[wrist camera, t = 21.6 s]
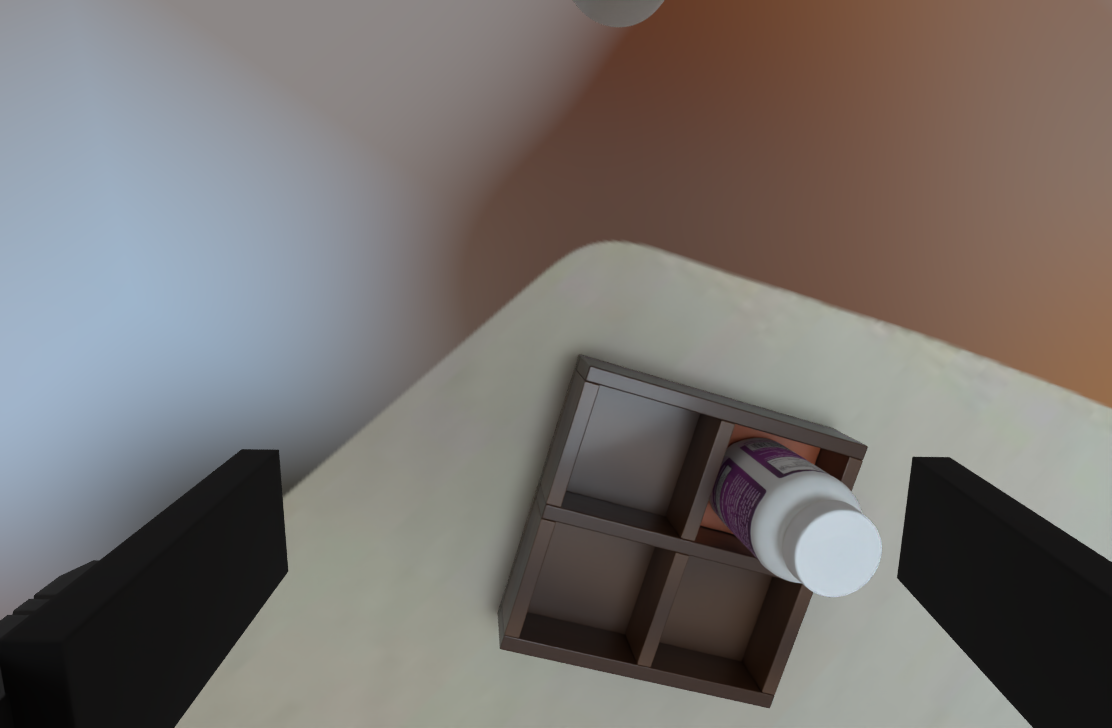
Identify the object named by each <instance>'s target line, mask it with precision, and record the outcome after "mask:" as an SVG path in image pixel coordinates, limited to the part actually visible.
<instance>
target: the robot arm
mask: <svg viewBox="0 0 1112 728" xmlns="http://www.w3.org/2000/svg"><path fill="white" fill-rule="evenodd" d="M287 572H288V562H287V549H286V536H285V523H284V510H283V497H282V485H281V473H280V460H279V450H251V449H248V450H247V449H242V450H240V451H239V452H238V453H237V454H235V455H234V456H233V457H231V458H230V459H229V460H228V461H226V462H225V463H224V464H223V465H221V466H220V467H219V468H217V469H216V470H215V471H213V472H212V473H211V474H210V475H208V476H207V477H206V478H205V479H203V480H202V481H201V482H199V483H198V484H197V485H196V486H195V487H193V488H192V489H190V490H189V491H188V492H187V493H185V494H184V495H183V496H182V497H180V498H179V499H178V500H176V501H175V502H174V503H173V504H171V505H170V506H169V507H168V508H166V509H165V510H164V511H162V512H161V513H160V514H159V515H157V516H156V517H155V518H154V519H152V520H151V521H150V522H148V523H147V524H146V525H144V526H143V527H142V528H141V529H139V530H138V531H137V532H135V533H134V534H133V535H132V536H130V537H129V538H128V539H126V540H125V541H124V542H123V543H121V544H120V545H119V546H118V547H116V548H115V549H114V550H112V551H111V552H110V553H109V554H107V555H106V556H105V557H103V558H102V559H101V560H100V561H95V560H94V561H91V562H89V563H87V564H85V565H83V566H80V567H78V568H76V569H74V570H72V571H70V572H68V573H66V574H63V575H61V576H59V577H58V578H56V579H55V580H54V581H52V582H51V583H50V584H48V585H47V586H46V587H44V588H43V589H42V590H40V591H39V592H38V593H36V594H35V595H34V599H28V600H27V601H26V602H24V603H23V604H22V605H20V606H19V607H18V608H16V609H15V610H14V611H13V614H12V615H7V616H6V617H4V618H3V619H2V620H0V728H174V727H175V726H176V724H177V723H178V722H179V720H180V719H181V718H182V716H183V715H184V713H185V712H186V711H187V709H188V708H189V707H190V705H191V704H192V703H193V701H194V700H195V698H196V697H197V696H198V694H199V693H200V692H201V690H202V689H203V687H204V686H205V685H206V683H207V682H208V681H209V679H210V678H211V676H212V675H213V674H214V672H215V671H216V670H217V668H218V667H219V666H220V664H221V663H222V661H223V660H224V659H225V657H226V656H227V655H228V653H229V652H230V650H231V649H232V648H233V646H234V645H235V644H236V642H237V641H238V639H239V638H240V637H241V635H242V634H243V633H244V631H245V630H246V629H247V627H248V626H249V624H250V623H251V622H252V620H253V619H254V618H255V616H256V615H257V613H258V612H259V611H260V609H261V608H262V607H263V605H264V604H265V602H266V601H267V600H268V598H269V597H270V596H271V594H272V593H273V591H274V590H275V589H276V587H277V586H278V585H279V583H280V582H281V581H282V579H283V578H284V576H285V575H286V574H287ZM897 578H898V579H899V581H900V582H901V583H902V584H903V585H904V586H905V587H906V588H907V589H908V590H909V592H910V593H911V594H912V595H913V596H914V597H915V598H916V599H917V600H918V601H919V603H920V604H921V605H922V606H923V607H924V608H925V609H926V610H927V611H928V612H929V614H930V615H931V616H932V617H933V618H934V619H935V620H936V621H937V622H938V624H939V625H940V626H941V627H942V628H943V629H944V630H945V631H946V632H947V633H948V635H949V636H950V637H951V638H952V639H953V640H954V641H955V642H956V643H957V644H958V646H959V647H960V648H961V649H962V650H963V651H964V652H965V653H966V654H967V655H968V657H969V658H970V659H971V660H972V661H973V662H974V663H975V664H976V665H977V666H978V668H979V669H980V670H981V671H982V672H983V673H984V674H985V675H986V676H987V677H988V679H989V680H990V681H991V682H992V683H993V684H994V685H995V686H996V687H997V688H998V690H999V691H1000V692H1001V693H1002V694H1003V695H1004V696H1005V697H1006V698H1007V700H1008V701H1009V702H1010V703H1011V704H1012V705H1013V706H1014V707H1015V708H1016V709H1017V711H1018V712H1019V713H1020V714H1021V715H1022V716H1023V717H1024V718H1025V719H1026V720H1027V722H1028V723H1029V724H1030V725H1031V726H1032V727H1033V728H1112V562H1111V561H1109V560H1107V559H1106V558H1104V557H1103V556H1101V555H1100V554H1098V553H1097V552H1095V551H1094V550H1092V549H1090V548H1089V547H1087V546H1086V545H1084V544H1083V543H1081V542H1080V541H1078V540H1077V539H1075V538H1073V537H1072V536H1070V535H1069V534H1067V533H1066V532H1064V531H1063V530H1061V529H1060V528H1058V527H1056V526H1055V525H1053V524H1052V523H1050V522H1049V521H1047V520H1046V519H1044V518H1043V517H1041V516H1039V515H1038V514H1036V513H1035V512H1033V511H1032V510H1030V509H1029V508H1027V507H1026V506H1024V505H1022V504H1021V503H1019V502H1018V501H1016V500H1015V499H1013V498H1012V497H1010V496H1009V495H1007V494H1005V493H1004V492H1002V491H1001V490H999V489H998V488H996V487H995V486H993V485H992V484H990V483H988V482H987V481H985V480H984V479H982V478H981V477H979V476H978V475H976V474H975V473H973V472H971V471H970V470H968V469H967V468H965V467H964V466H962V465H961V464H959V463H958V462H956V461H954V460H953V459H951V458H950V457H913V458H912V466H911V474H910V481H909V489H908V497H907V505H906V513H905V520H904V528H903V536H902V544H901V552H900V559H899V567H898V575H897Z"/></svg>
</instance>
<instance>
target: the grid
mask: <svg viewBox="0 0 1112 728" xmlns="http://www.w3.org/2000/svg"><path fill="white" fill-rule="evenodd" d="M750 438H766V439H770V440H773V441H776V442H778V443H780V444H782V445H784V446H785V447H787V448H789V449H790V450H791V451H793V452H795V453H796V454H798V455H799V456H801V457H803V458H804V459H806V460H807V461H809V462H810V463H812V464H814V465H815V466H817V467H818V468H820V469H822V470H823V471H825V472H826V473H828V474H830V475H831V476H833V477H835V478H836V479H838V480H839V481H841V482H842V483H843V484H844V485H846V486H847V487H848V488H849V489H850V490H851V491H852V488H853V486H854V483H855V480H856V478H857V475H858V472H859V470H860V467H861V464H862V462H863V461H862V460H863V459H864V456H865V453H866V451H867V448H868V447H867V446H866V445H864V444H862V443H860V442H859V441H857V440H855V439H853V438H851V437H849V436H847V435H845V434H843V433H841V432H839V431H837V430H835V429H833V428H830V427H826V426H823V425H819V424H816V423H813V422H809V421H806V420H802V419H799V418H796V417H792V416H789V415H785V414H782V413H778V412H775V411H772V410H768V409H765V408H761V407H758V406H755V405H751V404H748V403H744V402H741V401H737V400H734V399H731V398H727V397H724V396H720V395H717V394H714V393H710V392H707V391H703V390H700V389H696V388H693V387H690V386H686V385H683V384H679V383H676V382H673V381H669V380H666V379H662V378H659V377H656V376H652V375H649V374H645V373H642V372H638V371H635V370H632V369H628V368H625V367H621V366H618V365H615V364H611V363H608V362H604V361H601V360H597V359H594V358H591V357H587V356H584V355H579V357H578V360H577V363H576V366H575V369H574V373H573V376H572V379H571V382H570V385H569V388H568V392H567V395H566V398H565V401H564V404H563V407H562V411H561V414H560V417H559V420H558V423H557V427H556V430H555V433H554V436H553V439H552V442H551V446H550V449H549V452H548V455H547V458H546V461H545V465H544V468H543V471H542V474H541V477H540V480H539V484H538V487H537V490H536V493H535V496H534V500H533V503H532V506H531V509H530V512H529V515H528V519H527V522H526V525H525V528H524V531H523V534H522V538H521V541H520V544H519V547H518V550H517V553H516V557H515V560H514V563H513V566H512V569H511V572H510V576H509V579H508V582H507V585H506V588H505V592H504V595H503V598H502V601H501V604H500V607H499V611H498V626H499V642H500V649H503V650H507V651H512V652H516V653H521V654H525V655H530V656H535V657H539V658H544V659H548V660H553V661H557V662H562V663H566V664H571V665H575V666H580V667H585V668H589V669H594V670H598V671H603V672H607V673H612V674H616V675H621V676H625V677H630V678H634V679H639V680H644V681H648V682H653V683H657V684H662V685H666V686H671V687H675V688H680V689H684V690H689V691H694V692H698V693H703V694H707V695H712V696H716V697H721V698H725V699H730V700H734V701H739V702H744V703H748V704H753V705H757V706H762V707H766V708H770V706H771V704H772V701H773V698H774V695H775V692H776V690H777V687H778V684H779V682H780V679H781V677H782V674H783V671H784V669H785V666H786V663H787V661H788V658H789V655H790V653H791V650H792V647H793V645H794V642H795V639H796V637H797V634H798V631H799V629H800V626H801V623H802V621H803V618H804V615H805V613H806V610H807V607H808V605H809V602H810V599H811V597H812V594H813V592H812V591H810V590H809V589H808V588H807V587H805V586H804V585H803V584H802V583H795V582H790V581H787V580H784V579H782V578H780V577H778V576H776V575H775V574H773V573H772V572H770V571H769V570H768V569H766V568H765V567H764V566H763V565H762V564H761V563H760V561H759V560H758V559H757V558H756V557H755V556H754V555H753V554H752V553H751V551H750V550H749V549H748V548H747V547H746V546H745V545H744V544H743V543H742V542H741V541H740V540H739V539H738V538H737V537H736V536H735V535H734V534H733V532H732V531H731V530H730V529H729V528H728V527H727V526H726V525H725V524H724V523H723V522H722V520H721V519H720V518H719V517H718V516H717V514H716V513H715V512H714V510H713V509H712V506H711V504H710V502H709V499H710V496H711V493H712V490H713V487H714V484H715V482H716V479H717V476H718V473H719V470H720V467H721V464H722V461H723V459H724V456H725V453H726V450H727V448H728V447H729V446H731V445H732V444H734V443H736V442H739V441H741V440H745V439H750Z"/></svg>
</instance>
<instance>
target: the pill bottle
mask: <svg viewBox="0 0 1112 728" xmlns="http://www.w3.org/2000/svg"><path fill="white" fill-rule="evenodd" d="M709 502H710V504H711V506H712V509H713V510H714V512H715V513H716V514H717V516H718V517H719V518H720V519H721V520H722V522H723V523H724V524H725V525H726V526H727V527H728V528H729V529H730V530H731V531H732V532H733V534H734V535H735V536H736V537H737V538H738V539H739V540H740V541H741V542H742V543H743V544H744V545H745V546H746V547H747V548H748V549H749V550H750V551H751V553H752V554H753V555H754V556H755V557H756V558H757V559H758V560H759V561H760V563H761V564H762V565H763V566H764V567H765V568H766V569H768V570H769V571H770V572H772V573H773V574H775V575H776V576H778V577H780V578H782V579H784V580H787V581H790V582H795V583H802V584H803V585H804V586H805V587H807V588H808V589H809V590H810V591H812V592H814V593H816V594H818V595H821V596H826V597H840V596H845V595H848V594H850V593H853V592H855V591H857V590H858V589H860V588H861V587H863V586H864V585H865V584H866V583H867V582H868V581H869V580H870V579H871V578H872V576H873V575H874V573H875V572H876V570H877V567H878V565H879V563H880V559H881V554H882V543H881V538H880V535H879V532H878V530H877V528H876V527H875V525H874V524H873V522H872V521H871V520H870V519H869V518H867V517H866V516H865V515H864V514H862V510H861V507H860V505H859V503H858V500H857V499H856V497H855V496H854V494H853V493H852V492H851V490H850V489H849V488H848V487H847V486H846V485H844V484H843V483H842V482H841V481H839V480H838V479H836V478H835V477H833V476H831V475H830V474H828V473H826V472H825V471H823V470H822V469H820V468H818V467H817V466H815V465H814V464H812V463H810V462H809V461H807V460H806V459H804V458H803V457H801V456H799V455H798V454H796V453H795V452H793V451H791V450H790V449H789V448H787V447H785V446H784V445H782V444H780V443H778V442H776V441H773V440H770V439H766V438H750V439H745V440H741V441H739V442H736V443H734V444H732V445H731V446H729V447H728V448H727V450H726V453H725V456H724V459H723V461H722V464H721V467H720V470H719V473H718V476H717V479H716V482H715V484H714V487H713V490H712V493H711V496H710V499H709Z"/></svg>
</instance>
